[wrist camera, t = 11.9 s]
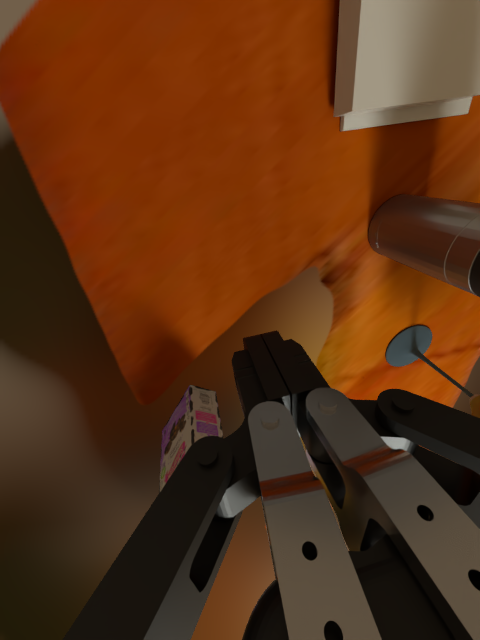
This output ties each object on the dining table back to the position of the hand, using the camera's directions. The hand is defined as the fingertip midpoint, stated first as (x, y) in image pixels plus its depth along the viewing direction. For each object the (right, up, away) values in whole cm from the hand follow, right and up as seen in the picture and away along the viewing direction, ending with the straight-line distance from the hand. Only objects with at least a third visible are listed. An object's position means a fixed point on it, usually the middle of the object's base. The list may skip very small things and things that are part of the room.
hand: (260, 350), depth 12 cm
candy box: (-11, -17, +42) cm, 47 cm away
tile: (+10, +30, +15) cm, 35 cm away
